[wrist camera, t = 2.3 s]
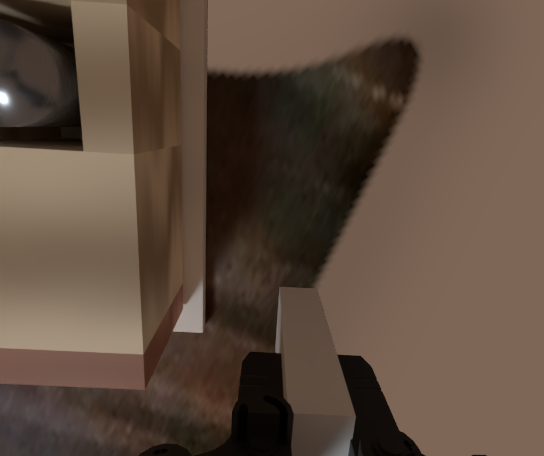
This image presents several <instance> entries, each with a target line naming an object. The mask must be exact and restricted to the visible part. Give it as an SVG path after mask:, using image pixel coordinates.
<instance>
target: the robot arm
mask: <svg viewBox="0 0 544 456" xmlns="http://www.w3.org/2000/svg"><path fill="white" fill-rule="evenodd" d="M275 348H276V353H264V352H250V353H249V354H248V355H247V356H246V358H245V359H244V360H243V362H242V369H241V377H240V386H239V394H238V401H237V402H236V403H235V406H234V408H233V411H232V429H231V436H230V438H229V439H228V440H227V441H226V442H225V443H224V444H223V445H221V446H220V447H218V448H216V449H215V450H212V451H209V452H207V453H203V454H199V455H195V456H425V455H423V454H421V452H420V450H419V448H418V447H417V445H416V444H415V443H414V441H413V440H411V439H410V438H409V437H408V436H407V435H406V434H404V433H403V432H400V431H399V429H398V427H397V425H396V422H395V420H394V418H393V415H392V413H391V411H390V408H389V406H388V404H387V402H386V399H385V397H384V395H383V392H382V391H381V388H380V385H379V383H378V381H377V380H376V379H377V378H376V376H375V374H374V371H373V369H372V367H371V366H370V365H369V364H368V363H367V362H366V361H365V360H364V359H363V358H362V357H361V356H351V355H337V353H336V349H335V346H334V343H333V339H332V336H331V333H330V330H329V326H328V323H327V320H326V316H325V313H324V310H323V307H322V303H321V300H320V297H319V293H318V290H317V289H312V288H292V287H280V289H279V303H278V318H277V332H276V347H275ZM139 456H192V455H191V454H190V452H189V451H188V450H187V449H186V448H184V447H181V446H179V445H177V444H161V445H157V446H153V447H151V448H149V449H148V450H146V451H144V452H142V453H141V454H140V455H139ZM472 456H486V455H472Z"/></svg>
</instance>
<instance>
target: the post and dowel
mask: <svg viewBox="0 0 544 456" xmlns="http://www.w3.org/2000/svg"><path fill="white" fill-rule="evenodd" d="M0 127H81V116H80V104H79V92H78V81H77V69H76V57H75V48H73V47H70V46H68V45H65V44H63V43H60V42H58V41H55V40H53V39H50V38H48V37H45V36H43V35H40V34H38V33H35V32H33V31H30V30H28V29H25V28H23V27H20V26H18V25H15V24H13V23H10V22H8V21H6V20H3V19H1V18H0Z"/></svg>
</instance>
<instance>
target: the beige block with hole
mask: <svg viewBox="0 0 544 456" xmlns="http://www.w3.org/2000/svg"><path fill="white" fill-rule="evenodd" d="M0 18H1V19H3V20H6V21H8V22H10V23H13V24H15V25H18V26H20V27H23V28H25V29H28V30H30V31H33V32H35V33H38V34H40V35H43V36H45V37H48V38H50V39H53V40H55V41H58V42H61V43H74V45H75V57H76V69H77V81H78V92H79V104H80V116H81V127H82V139H75V138H61V128H60V127H0V383H1V384H24V385H47V386H70V387H93V388H116V389H139V390H145V389H146V387H147V384H148V382H149V380H150V378H151V376H152V374H153V372H154V370H155V368H156V365H157V363H158V361H159V359H160V357H161V355H162V353H163V351H164V348H165V346H166V344H167V342H168V340H169V338H170V336H171V334H172V332H173V329H174V327H175V325H176V323H177V321H178V319H179V317H180V315H181V313H182V310H183V252H182V165H181V78H180V0H0Z"/></svg>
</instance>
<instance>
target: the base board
mask: <svg viewBox="0 0 544 456" xmlns="http://www.w3.org/2000/svg"><path fill="white" fill-rule="evenodd" d="M207 8H208V0H180V78H181V165H182V252H183V310H182V313H181V315H180V317H179V319H178V321H177V323H176V325H175V327H174V329H173V331H176V332H197V333H203V330H204V327H205V281H206V149H207V14H208V13H207V11H208V9H207ZM60 43H61V42H60ZM63 44H65V45H68V46H70V47H73V48H75V45H74V43H63ZM60 128H61V138H75V139H82V127H60Z"/></svg>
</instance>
